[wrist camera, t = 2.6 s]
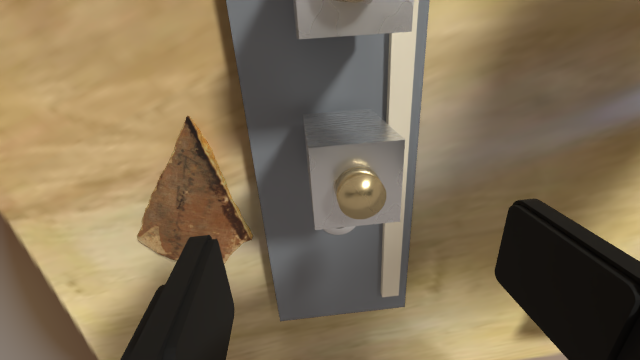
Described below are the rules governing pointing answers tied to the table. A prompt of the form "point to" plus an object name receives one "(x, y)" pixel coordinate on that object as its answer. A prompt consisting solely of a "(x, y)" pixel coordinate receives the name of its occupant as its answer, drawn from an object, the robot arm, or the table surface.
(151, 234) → the shard
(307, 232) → the hole plate
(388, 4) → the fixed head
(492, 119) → the table surface
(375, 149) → the block
